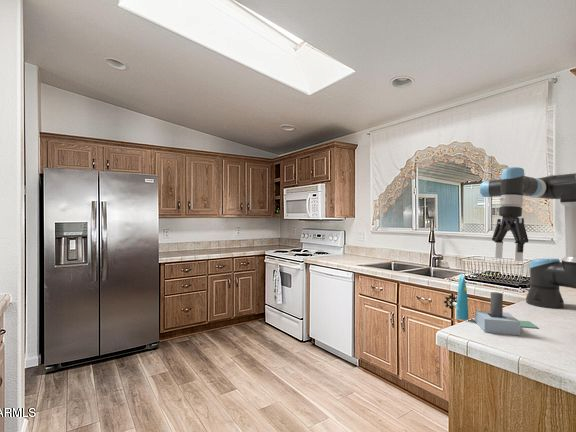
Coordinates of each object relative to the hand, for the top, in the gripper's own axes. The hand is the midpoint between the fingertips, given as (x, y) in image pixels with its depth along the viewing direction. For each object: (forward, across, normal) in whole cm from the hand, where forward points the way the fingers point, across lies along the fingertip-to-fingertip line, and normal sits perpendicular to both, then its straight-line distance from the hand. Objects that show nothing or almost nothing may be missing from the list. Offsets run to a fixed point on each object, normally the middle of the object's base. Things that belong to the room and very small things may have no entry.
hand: (507, 259), depth 128 cm
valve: (+27, -23, -8) cm, 37 cm away
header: (+28, -2, -2) cm, 28 cm away
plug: (+28, -2, -2) cm, 28 cm away
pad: (+26, -8, +12) cm, 30 cm away
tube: (+28, -13, -10) cm, 33 cm away
